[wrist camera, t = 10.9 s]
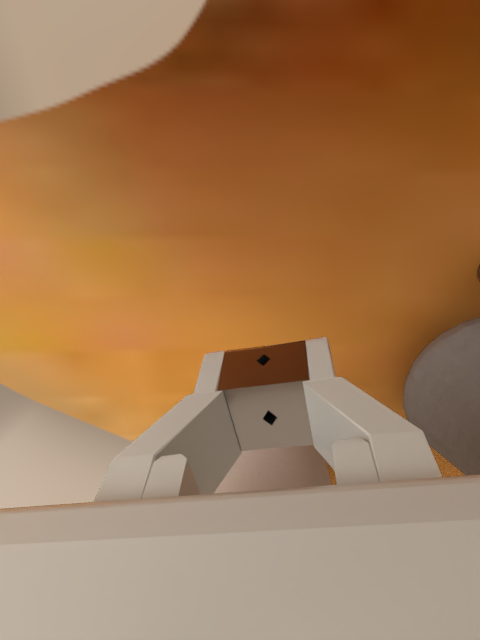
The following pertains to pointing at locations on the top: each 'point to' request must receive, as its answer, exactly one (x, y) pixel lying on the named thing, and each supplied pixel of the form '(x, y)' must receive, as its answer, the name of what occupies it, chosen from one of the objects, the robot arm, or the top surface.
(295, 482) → the coffee cup
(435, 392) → the coffee pot
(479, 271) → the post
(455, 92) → the top surface
